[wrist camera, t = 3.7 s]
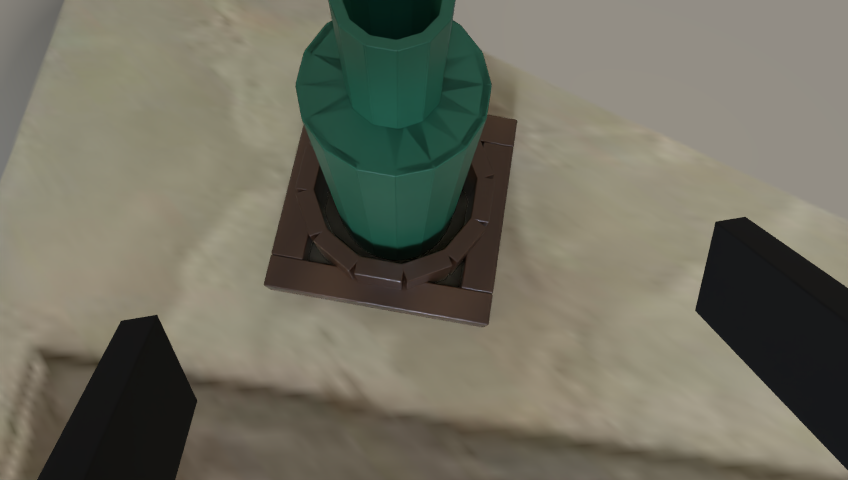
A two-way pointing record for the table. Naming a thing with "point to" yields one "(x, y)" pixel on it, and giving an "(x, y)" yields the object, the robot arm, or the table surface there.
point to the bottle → (394, 118)
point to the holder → (394, 281)
